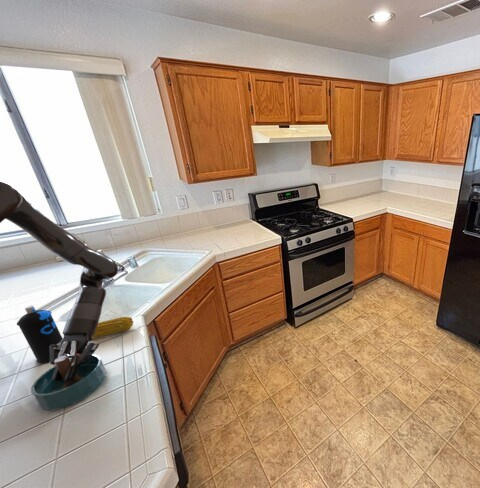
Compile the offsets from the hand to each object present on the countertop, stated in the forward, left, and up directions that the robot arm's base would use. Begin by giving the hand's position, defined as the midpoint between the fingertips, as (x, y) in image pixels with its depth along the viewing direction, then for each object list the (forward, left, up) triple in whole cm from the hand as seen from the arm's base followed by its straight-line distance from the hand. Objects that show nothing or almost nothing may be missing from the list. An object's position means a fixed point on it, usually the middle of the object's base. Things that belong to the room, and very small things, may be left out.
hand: (62, 380), depth 75 cm
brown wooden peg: (+1, +2, -5) cm, 5 cm away
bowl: (+1, +2, -5) cm, 6 cm away
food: (+3, +30, -5) cm, 30 cm away
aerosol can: (-11, +26, -5) cm, 29 cm away
